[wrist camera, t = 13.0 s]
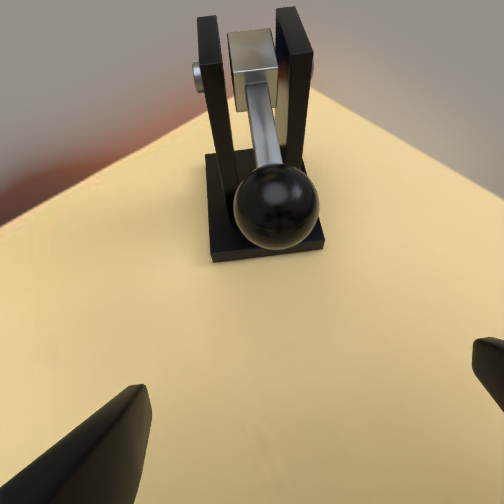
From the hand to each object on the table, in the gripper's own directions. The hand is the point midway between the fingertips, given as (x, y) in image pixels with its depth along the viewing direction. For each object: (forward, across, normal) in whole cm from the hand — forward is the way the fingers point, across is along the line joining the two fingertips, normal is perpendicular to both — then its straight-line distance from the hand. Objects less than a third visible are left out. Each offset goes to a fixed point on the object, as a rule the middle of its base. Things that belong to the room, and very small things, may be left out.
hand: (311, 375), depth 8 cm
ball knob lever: (+10, 0, -6) cm, 11 cm away
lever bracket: (+18, 0, -3) cm, 18 cm away
